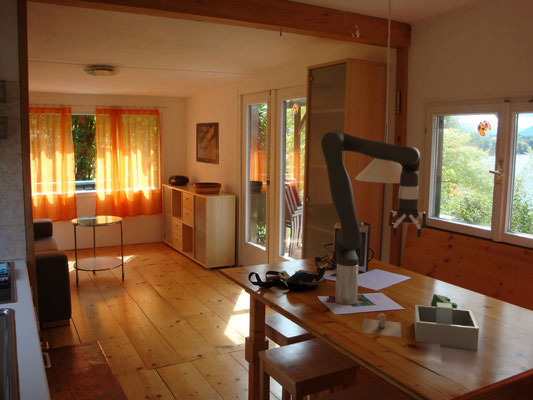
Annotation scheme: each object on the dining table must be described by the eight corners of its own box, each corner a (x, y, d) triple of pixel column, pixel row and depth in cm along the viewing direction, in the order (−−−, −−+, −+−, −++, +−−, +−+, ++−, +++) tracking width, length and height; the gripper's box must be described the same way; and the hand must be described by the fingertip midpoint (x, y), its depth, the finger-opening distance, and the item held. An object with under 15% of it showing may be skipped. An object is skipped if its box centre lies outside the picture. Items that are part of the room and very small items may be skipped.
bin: (415, 343, 164) (416, 322, 163) (414, 324, 181) (415, 304, 180) (477, 351, 158) (478, 328, 157) (469, 330, 176) (471, 310, 175)
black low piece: (270, 280, 237) (270, 265, 236) (323, 275, 247) (323, 261, 246) (286, 294, 216) (286, 278, 215) (343, 288, 226) (344, 272, 225)
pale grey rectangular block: (435, 330, 173) (436, 302, 171) (449, 332, 171) (451, 303, 170) (435, 336, 168) (437, 306, 166) (450, 338, 166) (452, 308, 165)
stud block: (361, 335, 171) (361, 318, 170) (363, 321, 184) (364, 305, 183) (400, 339, 167) (401, 322, 166) (400, 325, 180) (401, 309, 180)
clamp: (450, 324, 193) (460, 309, 188) (436, 321, 192) (446, 305, 188) (442, 304, 203) (451, 289, 198) (429, 301, 202) (438, 286, 198)
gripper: (426, 196, 188) (424, 236, 190) (390, 195, 192) (388, 234, 194) (427, 199, 181) (425, 240, 183) (389, 197, 185) (388, 237, 187)
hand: (406, 237), depth 189 cm, fingers open, 8 cm apart
